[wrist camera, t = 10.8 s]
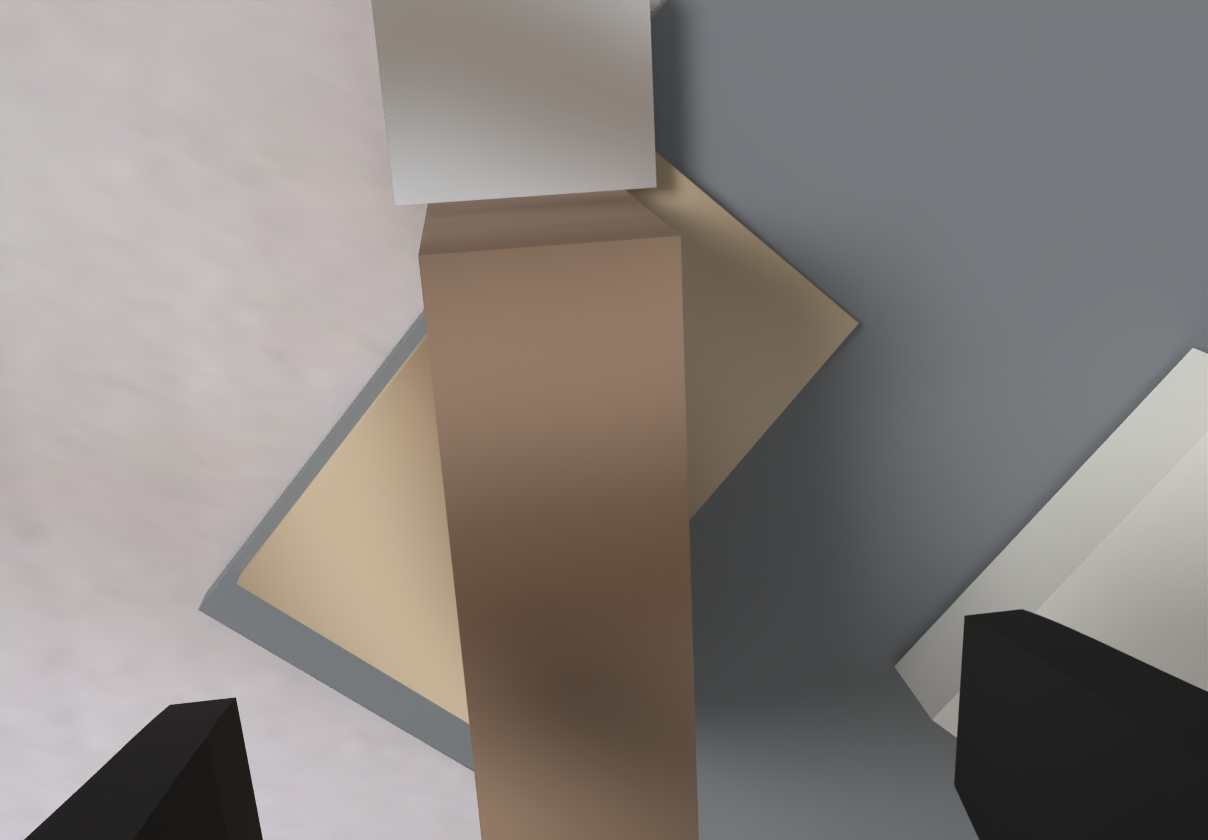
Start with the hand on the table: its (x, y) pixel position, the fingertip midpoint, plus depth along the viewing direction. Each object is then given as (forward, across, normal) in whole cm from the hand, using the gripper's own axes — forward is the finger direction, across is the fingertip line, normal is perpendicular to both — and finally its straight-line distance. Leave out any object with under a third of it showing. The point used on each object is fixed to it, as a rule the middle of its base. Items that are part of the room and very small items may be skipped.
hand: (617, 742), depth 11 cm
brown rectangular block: (+8, 0, -1) cm, 8 cm away
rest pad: (+9, 0, 0) cm, 9 cm away
